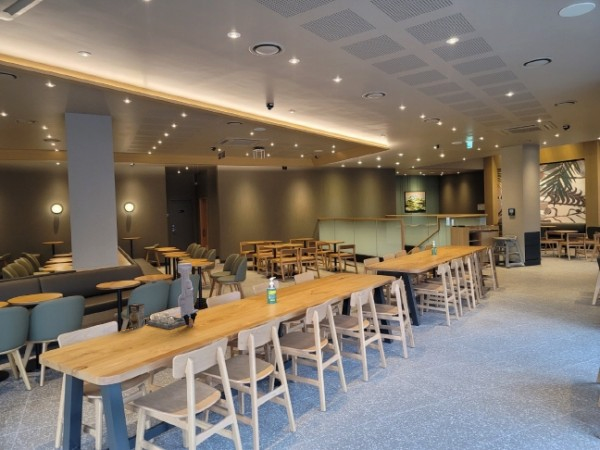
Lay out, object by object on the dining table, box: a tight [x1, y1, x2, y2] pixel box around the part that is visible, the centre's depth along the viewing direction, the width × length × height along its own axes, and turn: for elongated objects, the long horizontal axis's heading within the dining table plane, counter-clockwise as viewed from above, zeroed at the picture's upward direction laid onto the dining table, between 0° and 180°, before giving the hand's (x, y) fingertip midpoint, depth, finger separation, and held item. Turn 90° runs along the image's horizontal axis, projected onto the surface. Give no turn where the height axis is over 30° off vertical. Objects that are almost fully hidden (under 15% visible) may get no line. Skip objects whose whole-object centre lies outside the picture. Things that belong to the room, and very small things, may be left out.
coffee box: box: [128, 302, 146, 329], centre depth 300 cm, size 9×6×16 cm
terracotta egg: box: [186, 318, 194, 328], centre depth 297 cm, size 4×4×6 cm
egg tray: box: [146, 311, 187, 330], centre depth 304 cm, size 18×26×7 cm
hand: (190, 324), depth 297 cm, fingers closed on terracotta egg, 4 cm apart
